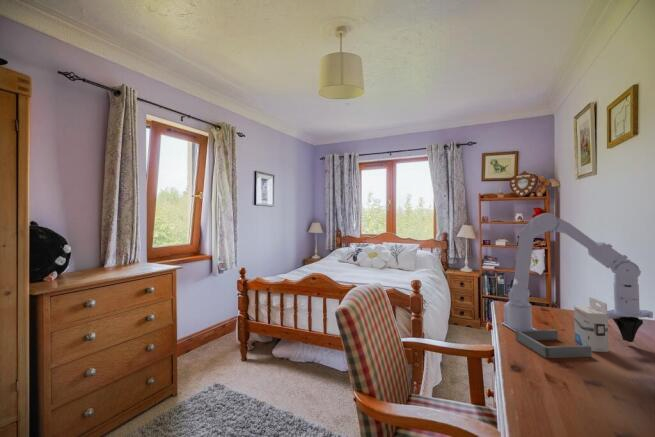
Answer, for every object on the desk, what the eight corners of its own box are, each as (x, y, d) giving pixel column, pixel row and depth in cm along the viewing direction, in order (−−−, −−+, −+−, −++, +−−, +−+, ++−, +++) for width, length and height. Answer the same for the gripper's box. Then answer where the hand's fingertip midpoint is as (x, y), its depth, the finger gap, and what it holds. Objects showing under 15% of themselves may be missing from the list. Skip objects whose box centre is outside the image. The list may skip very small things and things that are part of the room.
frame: (515, 339, 103) (515, 330, 103) (555, 338, 103) (555, 329, 103) (545, 358, 89) (545, 347, 89) (591, 356, 89) (591, 346, 89)
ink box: (574, 340, 101) (572, 296, 101) (591, 341, 100) (589, 296, 100) (590, 351, 92) (589, 303, 92) (609, 352, 91) (607, 303, 91)
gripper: (615, 301, 92) (617, 346, 92) (663, 300, 92) (664, 345, 92) (595, 296, 99) (596, 337, 99) (639, 294, 99) (640, 336, 99)
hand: (628, 340), depth 96 cm, fingers closed
